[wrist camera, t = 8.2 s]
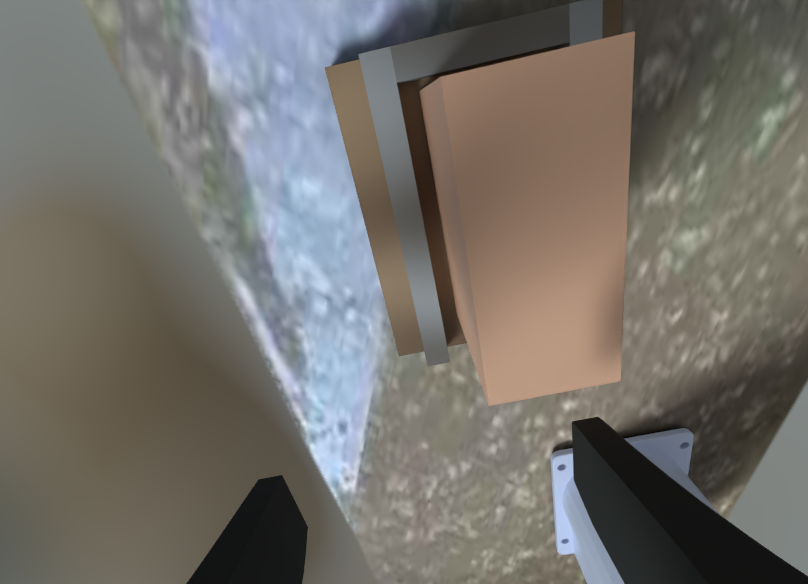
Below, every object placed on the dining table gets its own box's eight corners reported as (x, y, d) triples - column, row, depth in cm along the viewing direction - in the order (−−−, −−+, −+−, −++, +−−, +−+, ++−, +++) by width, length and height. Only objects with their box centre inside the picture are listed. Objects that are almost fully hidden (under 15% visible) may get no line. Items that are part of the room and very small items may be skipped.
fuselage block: (545, 295, 17) (620, 381, 12) (456, 313, 17) (488, 405, 12) (532, 64, 13) (635, 31, 8) (418, 91, 13) (440, 77, 8)
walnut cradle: (602, 303, 18) (628, 327, 16) (398, 344, 19) (400, 371, 17) (606, 4, 13) (645, -15, 11) (328, 70, 14) (319, 63, 12)
